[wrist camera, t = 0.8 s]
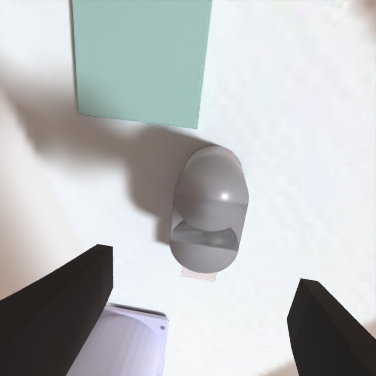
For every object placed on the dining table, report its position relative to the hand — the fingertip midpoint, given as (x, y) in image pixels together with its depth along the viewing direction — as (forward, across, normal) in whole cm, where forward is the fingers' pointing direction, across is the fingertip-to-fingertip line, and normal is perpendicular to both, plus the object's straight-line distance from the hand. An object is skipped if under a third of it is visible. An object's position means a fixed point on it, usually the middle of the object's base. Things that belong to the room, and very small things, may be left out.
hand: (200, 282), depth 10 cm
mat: (+9, +6, -8) cm, 14 cm away
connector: (+9, 0, 0) cm, 9 cm away
